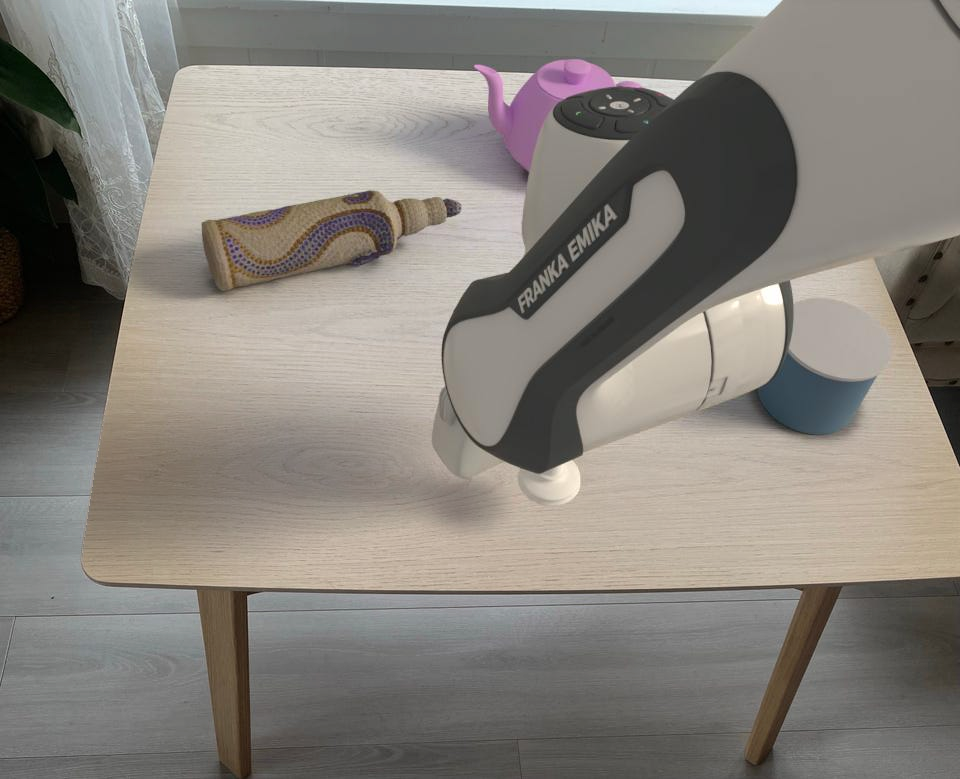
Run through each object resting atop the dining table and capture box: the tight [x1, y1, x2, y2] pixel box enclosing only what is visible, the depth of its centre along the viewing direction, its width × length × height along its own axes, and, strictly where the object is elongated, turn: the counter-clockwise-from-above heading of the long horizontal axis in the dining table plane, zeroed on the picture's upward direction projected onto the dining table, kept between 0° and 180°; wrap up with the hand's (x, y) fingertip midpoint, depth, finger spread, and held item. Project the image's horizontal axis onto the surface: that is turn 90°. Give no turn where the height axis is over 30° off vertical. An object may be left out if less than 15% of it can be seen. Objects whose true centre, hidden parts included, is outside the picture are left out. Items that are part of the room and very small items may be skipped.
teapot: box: [473, 58, 645, 173], centre depth 104 cm, size 20×14×12 cm
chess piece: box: [517, 460, 581, 507], centre depth 71 cm, size 5×5×10 cm
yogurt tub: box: [756, 297, 893, 436], centre depth 85 cm, size 10×10×8 cm
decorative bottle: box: [200, 189, 463, 292], centre depth 93 cm, size 26×8×7 cm, turn 112°
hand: (554, 452), depth 72 cm, fingers closed on chess piece
